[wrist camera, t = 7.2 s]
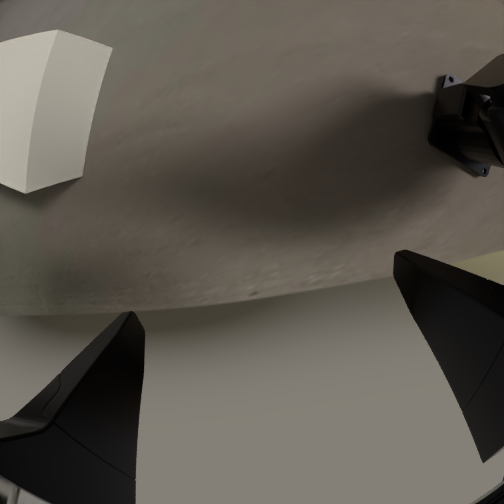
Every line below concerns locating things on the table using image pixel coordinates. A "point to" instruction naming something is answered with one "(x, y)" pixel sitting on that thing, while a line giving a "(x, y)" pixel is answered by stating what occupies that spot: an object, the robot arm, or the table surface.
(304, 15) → the table surface
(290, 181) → the table surface
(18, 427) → the robot arm
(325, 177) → the table surface
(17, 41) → the slab
